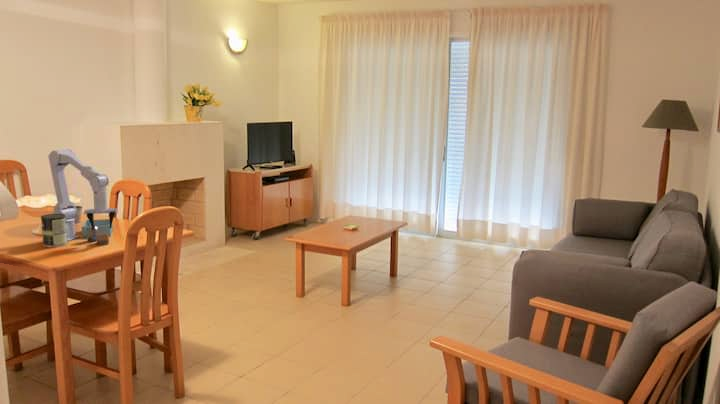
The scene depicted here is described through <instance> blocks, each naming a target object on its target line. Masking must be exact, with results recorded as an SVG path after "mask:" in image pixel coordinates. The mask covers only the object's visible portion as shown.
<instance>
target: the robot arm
mask: <svg viewBox="0 0 720 404" xmlns="http://www.w3.org/2000/svg"><path fill="white" fill-rule="evenodd" d="M47 157H48V161H49V165H50V166H49V167H50V172H51V175H52V176H51V177H52V182H53V186H54V191H55V196H56V197H55V198H56V201H57V203H56V204H55V205H54V206H53V214H64V215H65V222H66V237H67V242H70V241H72V240H75V239H78V238H80V235H76V223H74V220H76V219H75V218H76V217H77V215H78V211H77V209H76V207H75V206H76V204H75V203H74V202H73V201H71V200H70V195H69V190H68V185H67V181H66V177H65V171H64V170H65V168H66V167H67V166H69V165H71V166H73V167H74V168H75V169H77V170H78V171H80V175H81V176H82V177H83V178H84V179H86V180H87V181H88V182H89V185H90V186H91V190H92V193H93V194H92V195H93V206H94V207H93V208H89V209H84V210H83V214H84V215H86V217H87V220H89V221H90V223H91V225H92V229H94V220H95V219H94V214H108V219H110V228H112V221H113V222H114V218H115V215H116V214H118V212H119V210H118V207H117V208H109V207H108V197H107V195H108V194H107V186H108V185H109V177H108V176H107V174H106V175H105V174H101V173H99V171H97V170H95V169H94V168H93V166H91V165H85V164H84V162H83V161H82V160H80V159H79V158H78V157H77V156H76V153H75V152H74V151H73V150H72V149H70V148H69V149H61V150H60V149H59V150H51V151H50V153H49V154H48V156H47ZM64 207H67V208H64Z"/></svg>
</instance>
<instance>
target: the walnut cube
mask: <svg viewBox="0 0 720 404" xmlns="http://www.w3.org/2000/svg"><path fill="white" fill-rule="evenodd" d="M109 237H110V236H109V234H108V232H105V233H97V235H96V241H97V242H96V246H107V245H109V243H110V238H109Z"/></svg>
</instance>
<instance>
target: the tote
mask: <svg viewBox="0 0 720 404" xmlns="http://www.w3.org/2000/svg"><path fill="white" fill-rule="evenodd" d="M89 226H92V225H91V223H90V221H89V219H85V220H84V222H83V224H82V225H81V237H82V238H83V239H84V238H87V227H89ZM94 226H98V233H105V232H108V234H109V237H111V236H112V234H113V230H114V220H113V221H112V228H110V219H109V218H103V219H94Z"/></svg>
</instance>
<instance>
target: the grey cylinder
mask: <svg viewBox="0 0 720 404" xmlns="http://www.w3.org/2000/svg"><path fill="white" fill-rule="evenodd" d="M97 233H98V226H94V229H92V226H89V227H87V237H86V238H87V242H88V243H97V242H96V235H97Z"/></svg>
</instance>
